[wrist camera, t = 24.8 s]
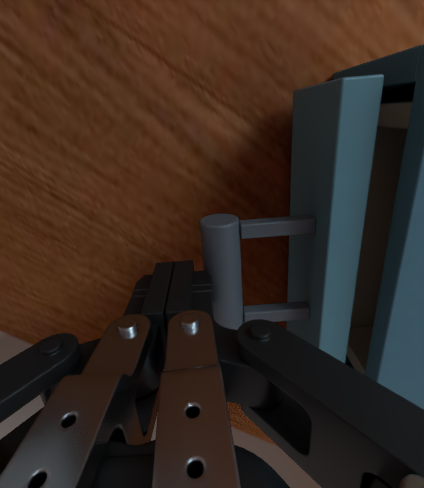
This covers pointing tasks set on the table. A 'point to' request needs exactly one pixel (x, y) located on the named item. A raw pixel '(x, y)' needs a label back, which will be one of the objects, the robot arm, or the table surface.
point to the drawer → (324, 219)
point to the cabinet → (401, 239)
